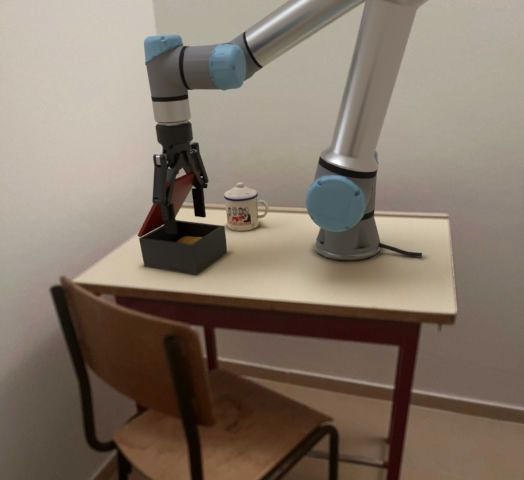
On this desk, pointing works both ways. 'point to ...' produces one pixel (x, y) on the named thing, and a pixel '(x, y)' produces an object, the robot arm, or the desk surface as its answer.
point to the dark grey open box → (184, 247)
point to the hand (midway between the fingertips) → (186, 224)
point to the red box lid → (178, 198)
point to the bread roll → (188, 239)
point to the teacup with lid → (243, 208)
